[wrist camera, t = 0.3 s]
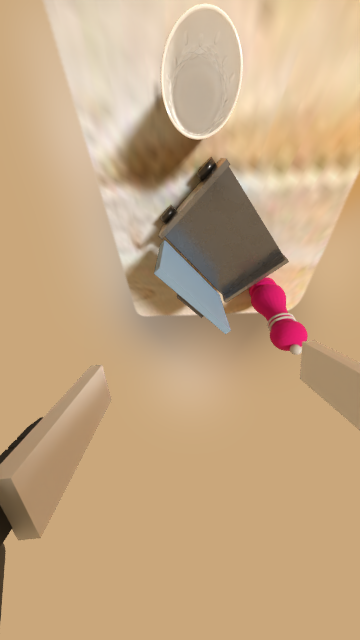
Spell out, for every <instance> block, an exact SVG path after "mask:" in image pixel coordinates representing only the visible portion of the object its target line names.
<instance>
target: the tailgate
mask: <svg viewBox="0 0 360 640" xmlns="http://www.w3.org/2000/svg"><path fill="white" fill-rule="evenodd" d="M154 274H155V275H156V276H157V277H159V278H160V279H161V280H162V281H163V282H164V283H166V284H167V285H168V286H169V287H170V288H172V289H173V290H174V291H175V292H176V293H177V298H178V299H179V300H181V301H182V302H183V303H184V304H185V305H187V306H188V307H189V308H190V309H191V310H193V311H194V312H195V313H196V314H198V315H199V316H200V317H201V318H202V317H203V316H205V317H206V318H207V319H208V320H210V321H211V322H212V323H213V324H214V325H216V326H217V327H218V328H219V329H220V330H221V331H223V332H224V333H225V334H226V333H228V332H230V331H231V329H230V326H229V323H228V320H227V317H226V314H225V311H224V308H223V304H222V301H221V298H220V295H219V294H218V293H217V292H216V291H215V290H214V289H213V288H212V287H211V286H210V285H209V284H208V283H207V282H206V281H205V280H204V279H203V278H202V277H201V276H200V275H199V274H198V273H197V272H196V271H195V270H194V269H193V268H192V267H191V266H190V265H189V264H188V263H187V262H186V261H185V260H184V259H183V258H182V257H181V256H180V255H179V254H178V253H177V252H176V251H175V250H174V249H173V248H172V247H171V246H170V245H169V244H168V243H167V242H166V241H165V240H164V241H163V242H162V243H161V244H160V249H159V253H158V258H157V262H156V267H155V271H154Z"/></svg>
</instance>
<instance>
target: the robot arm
mask: <svg viewBox="0 0 360 640" xmlns="http://www.w3.org/2000/svg"><path fill="white" fill-rule="evenodd" d="M300 371H301V372H300V379H301V380H302V381H303V382H304V383H305V384H307V385H308V386H309V387H310V388H311V389H312V390H313V391H315V392H316V393H317V394H318V395H319V396H321V397H322V398H323V399H324V400H325V401H326V402H328V403H329V404H330V405H331V406H332V407H333V408H335V409H336V410H337V411H338V412H339V413H340V414H341V415H343V416H344V417H345V418H346V419H347V420H348V421H349V422H351V423H352V424H353V425H354V426H355V427H356V428H358V429H359V430H360V363H359V362H357V361H355V360H353V359H351V358H349V357H347V356H345V355H343V354H341V353H339V352H337V351H335V350H333V349H331V348H329V347H327V346H325V345H323V344H321V343H318V342H317V341H314V340H312V341H304V342H302V356H301V370H300ZM110 402H111V397H110V393H109V389H108V385H107V381H106V378H105V374H104V370H103V366H102V365H96V366H91V367H90V368H89V369H88V370H87V371H86V372H85V373H84V374H83V375H82V377H80V378H79V380H78V381H77V382H76V383H75V384H74V385H73V386H72V387H71V388H70V389H69V390H68V391H67V393H66V394H65V395H64V396H63V397H62V398H61V399H60V400H59V401H58V402H57V403H56V405H54V407H53V408H52V409H51V410H50V411H49V412H48V413H47V414H46V415H45V416H44V417H42V418H39V419H38V420H37V421H35V422H34V423H33V424H31V425H30V426H29V427H27V428H26V430H24V432H23V433H22V434H21V435H20V436H19V437H18V438H17V440H15V441H14V442H13V443H12V444H11V445H10V446H9V447H8V450H5V451H4V452H3V453H2V454H1V455H0V619H1V605H2V592H3V578H4V564H5V547H4V544H3V542H4V540H5V538H6V537H7V535H8V534H9V532H10V531H11V529H12V530H13V532H14V533H15V535H16V537H17V539H18V540H25V539H35V538H41V536H42V534H43V532H44V530H45V528H46V526H47V525H48V523H49V520H50V519H51V517H52V515H53V513H54V511H55V509H56V507H57V505H58V503H59V501H60V499H61V497H62V495H63V493H64V491H65V489H66V488H67V486H68V484H69V482H70V480H71V478H72V476H73V474H74V472H75V470H76V468H77V466H78V464H79V462H80V460H81V458H82V456H83V454H84V452H85V450H86V449H87V446H88V445H89V443H90V441H91V439H92V437H93V435H94V433H95V431H96V429H97V427H98V425H99V423H100V421H101V419H102V417H103V415H104V413H105V412H106V410H107V408H108V406H109V404H110Z"/></svg>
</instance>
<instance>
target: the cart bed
mask: <svg viewBox="0 0 360 640" xmlns="http://www.w3.org/2000/svg"><path fill="white" fill-rule="evenodd" d="M229 165H230V163H229V162H228V160H227V159H224V158H221V159H220V160H219V161H218V162H217V163H215V162H214V160H213V159H212V157H210V158H209V159H208V160H207V162H206V163H205V164H204V165H203V166H202V167H201V169H200V170H199V171H198V173H197V176H198V177H199V179H200V180H201V182H200V183H199V184H198V185H197V186H196V187H195V189H194V190H193V191H192V192H191V193H190V194H189V196H188V197H187V198H186V199H185V200H184V201H183V203H182V204H181V205H180V206H179V207H178V208H177V210H175V209H174V208H173V206H172V205H170V206H169V207H168V208H167V210H166V211H165V212H164V213H163V215H162V216H161V218H160V219H161V220H162V221H163V222H164V225H163V226H162V227H161V230H160V233H159V237H160V238H161V239H163V238H164V237H166V238H167V239H168V240H169V241H170V242H171V243H172V244H173V245H174V246H175V247H176V248H177V249H178V250H179V251H180V252H181V253H182V254H183V255H184V256H185V257H186V258H187V259H188V260H189V261H190V262H191V263H192V264H193V265H194V266H195V267H196V268H197V269H198V270H199V271H200V272H201V273H202V274H203V275H204V276H205V277H206V278H207V279H208V280H209V281H210V282H211V283H212V284H213V285H214V287H215V288H216V289H217V290H218V291H219V292H220V293H221V294H222V295H223V299H224V301H225V302H226V303H227V302H228V301H230V300H231V299H233V298H234V297H236V296H237V295H239V294H240V293H242V292H243V291H245V290H246V289H248V288H250V287H251V286H253V285H254V284H256V283H257V282H259V281H260V280H262V279H263V278H265V277H266V276H268V275H269V274H271V273H273V272H274V271H276V270H277V269H279V268H280V267H282V266H283V265H285V264H286V263H288V262H289V261H288V259H287V258H286V257H285V256H284V255H283V254H282V253H281V251H280V249H279V248H278V246H277V245H276V243H275V241H274V240H273V238H272V236H271V235H270V233H269V231H268V230H267V228H266V227H265V225H264V223H263V222H262V220H261V218H260V217H259V215H258V213H257V212H256V210H255V209H254V207H253V205H252V204H251V202H250V200H249V199H248V197H247V195H246V194H245V192H244V191H243V189H242V187H241V186H240V184H239V182H238V181H237V179H236V177H235V176H234V174H233V173H232V171H231V169H230V168H229Z"/></svg>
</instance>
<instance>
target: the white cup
mask: <svg viewBox="0 0 360 640" xmlns="http://www.w3.org/2000/svg"><path fill="white" fill-rule="evenodd" d="M241 81H242V51H241V45H240V41H239V37H238V34H237V31H236V29H235V27H234V25H233V23H232V21H231V20H230V18H229V17H228V15H227V14H226V13H225V12H224V11H223V10H221V9H220V8H218V7H217V6H214V5H212V4H199V5H196V6H193V7H191V8H190V9H188V10H187V11H186V12H185V13H184V14H182V16H181V17H180V18H179V19H178V20H177V22H176V23H175V25H174V26H173V28H172V30H171V32H170V34H169V37H168V39H167V42H166V45H165V48H164V52H163V57H162V64H161V91H162V97H163V102H164V106H165V109H166V112H167V114H168V116H169V118H170V120H171V122H172V124H173V125H174V126H175V128H176V129H177V130H178V131H179V132H180V133H181V134H183V135H184V136H186V137H188V138H190V139H195V140H200V139H205V138H208V137H210V136H212V135H214V134H215V133H217V132H218V131H219V130H220V129H221V128H222V127H223V126H224V124H225V123H226V122H227V120H228V119H229V117H230V115H231V114H232V112H233V109H234V107H235V105H236V102H237V99H238V96H239V92H240V87H241Z"/></svg>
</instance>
